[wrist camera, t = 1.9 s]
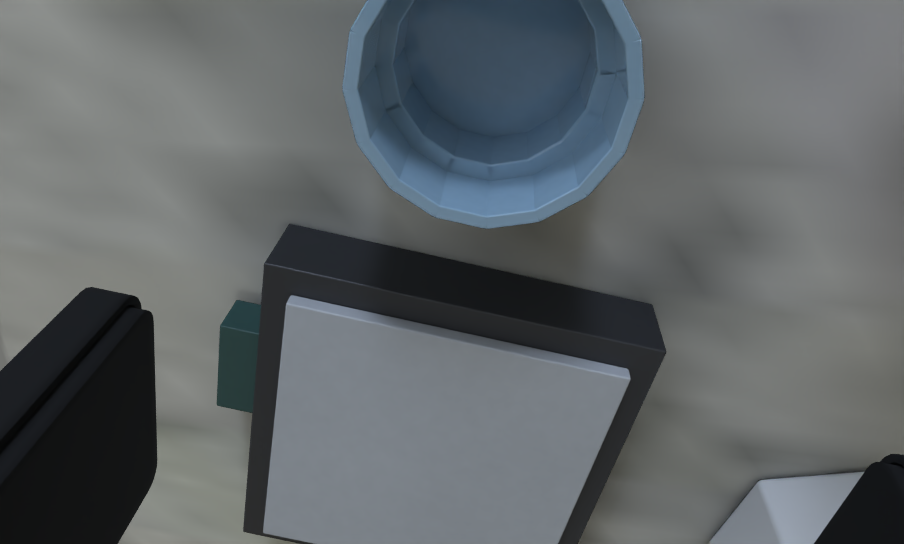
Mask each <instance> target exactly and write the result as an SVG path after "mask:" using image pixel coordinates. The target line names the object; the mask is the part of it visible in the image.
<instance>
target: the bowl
mask: <svg viewBox="0 0 904 544" xmlns="http://www.w3.org/2000/svg"><path fill="white" fill-rule="evenodd" d="M350 30H351V31H350V32H349V39H348V47H347V54H346V62H345V70H344V78H343V86H342V88H343V94H344V98H345V102H346V106H347V109H348V113H349V117H350V121H351V124H352V128H353V132H354V136H355V139H356V143H357V144H358V146H359V148H360V149H361V150H362V152H363V153H364V155H365V156H366V157H367V159H368V160H369V161H370V163H371V164H372V165H373V167H374V168H375V170H376V171H377V172H378V174H379V175H380V176H381V178H382V179H383V180H384V182H385V183H386V184H387V186H388V187H389V188H390V189H391V190H393V191H394V192H396V193H397V194H399V195H400V196H402V197H404V198H405V199H407V200H408V201H410V202H411V203H413V204H414V205H416V206H417V207H419V208H420V209H422V210H424V211H425V212H427V213H428V214H430V215H431V216H433V217H434V216H435V218H439V219H443V220H448V221H452V222H457V223H461V224H466V225H470V226H475V227H479V228H484V229H486V228H487V229H491V228H498V227H506V226H514V225H521V224H529V223H537V222H539V221H542V220H544V219H546V218H548V217H550V216H552V215H554V214H556V213H558V212H559V211H561V210H563V209H565V208H567V207H569V206H571V205H573V204H575V203H577V202H578V201H580V200H582V199H584V198H586V197H587V196H589V195H590V193H591V192H592V191H593V190H594V189H595V188H596V187H597V186H598V184H599V183H600V182H601V181H602V180H603V179H604V178H605V176H606V175H607V174H608V173H609V172H610V171H611V170H612V169H613V167H614V166H615V165H616V164H617V163H618V162H619V161H620V159H621V158H622V157H623V156H624V154H625V153H626V150H627V148H628V145H629V142H630V139H631V136H632V134H633V131H634V128H635V125H636V122H637V120H638V117H639V114H640V111H641V108H642V106H643V103H644V98H645V92H644V73H643V54H642V40H641V36H640V34H639V32H638V30H637V28H636V26H635V24H634V22H633V20H632V18H631V16H630V14H629V12H628V10H627V8H626V6H625V4H624V2H623V0H367V1H366V3H365V5H364V6H363V8H362V10H361V12H360V13H359V15H358V17H357V18H356V20H355V22H354V23H353V25H352V27H351V29H350Z"/></svg>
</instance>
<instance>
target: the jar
mask: <svg viewBox="0 0 904 544" xmlns="http://www.w3.org/2000/svg"><path fill="white" fill-rule="evenodd" d="M864 472H865V471H864ZM864 472H852V473H840V474H827V475H815V476H802V477H790V478H778V479H765V480H759V481H758V482H757V483H756V484H755V486H754V487H753V488H752V489H751V491H750V492H749V493H748V494H747V496H746V497H745V498H744V499H743V501H742V502H741V503H740V504H739V505H738V507H737V508H736V509H735V510H734V512H733V513H732V514H731V515H730V517H729V518H728V519H727V520H726V522H725V523H724V524H723V525H722V526H721V528H720V529H719V530H718V531H717V533H716V534H715V535H714V536H713V538H712V539H711V540H710V541H709V544H814V543H815V541H816V540H817V538H818V537H819V536H820V534H821V533H822V531H823V530H824V529H825V527H826V526H827V524H828V523H829V521H830V520H831V519H832V517H833V516H834V514H835V513H836V512H837V510H838V509H839V507H840V506H841V505H842V503H843V502H844V500H845V499H846V497H847V496H848V495H849V493H850V492H851V490H852V489H853V488H854V486H855V485H856V483H857V482H858V480H859V479H860V478H861V476H862V475H863V473H864Z"/></svg>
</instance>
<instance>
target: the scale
mask: <svg viewBox="0 0 904 544" xmlns="http://www.w3.org/2000/svg"><path fill="white" fill-rule="evenodd" d="M665 354H666V349H665V345H664V342H663V339H662V335H661V332H660V329H659V325H658V322H657V319H656V315H655V312H654V308H653V305H651V304H647V303H642V302H638V301H633V300H629V299H624V298H620V297H615V296H611V295H606V294H602V293H598V292H593V291H589V290H584V289H580V288H575V287H571V286H566V285H562V284H557V283H553V282H548V281H544V280H539V279H535V278H530V277H526V276H521V275H517V274H512V273H508V272H503V271H499V270H494V269H490V268H485V267H481V266H476V265H472V264H467V263H463V262H458V261H454V260H449V259H445V258H440V257H436V256H431V255H427V254H423V253H418V252H414V251H409V250H405V249H400V248H396V247H391V246H387V245H382V244H378V243H373V242H369V241H364V240H360V239H355V238H351V237H346V236H342V235H337V234H333V233H328V232H324V231H319V230H315V229H310V228H306V227H301V226H297V225H292V224H289V225H288V227H287V228H286V230H285V232H284V233H283V235H282V236H281V238H280V240H279V241H278V243H277V244H276V246H275V248H274V249H273V251H272V252H271V254H270V255H269V257H268V259H267V260H266V262H265V263H264V274H263V287H262V300H261V305H258V304H254V303H249V302H245V301H240V300H236V302H235V304H234V305H233V307H232V308H231V310H230V311H229V313H228V315H227V316H226V318H225V319H224V321H223V322H222V324H221V325H220V342H219V365H218V388H217V405H218V406H222V407H226V408H231V409H236V410H241V411H245V412H250V413H252V426H251V439H250V451H249V464H248V477H247V489H246V502H245V514H244V527H243V531H244V532H247V533H251V534H256V535H261V536H266V537H271V538H276V539H280V540H285V541H290V542H295V543H300V544H578V542H579V539H580V537H581V535H582V533H583V531H584V529H585V526H586V524H587V522H588V520H589V518H590V516H591V514H592V511H593V509H594V507H595V505H596V503H597V501H598V498H599V496H600V494H601V492H602V490H603V488H604V486H605V483H606V481H607V479H608V477H609V475H610V473H611V470H612V468H613V466H614V464H615V462H616V460H617V458H618V455H619V453H620V451H621V449H622V447H623V445H624V442H625V440H626V438H627V436H628V434H629V432H630V430H631V427H632V425H633V423H634V421H635V419H636V417H637V414H638V412H639V410H640V408H641V406H642V404H643V401H644V399H645V397H646V395H647V393H648V391H649V389H650V386H651V384H652V382H653V380H654V378H655V376H656V373H657V371H658V369H659V367H660V365H661V363H662V361H663V358H664V356H665Z"/></svg>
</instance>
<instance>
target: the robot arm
mask: <svg viewBox="0 0 904 544" xmlns="http://www.w3.org/2000/svg"><path fill="white" fill-rule="evenodd" d="M156 468H157V433H156V395H155V357H154V321H153V315H152V313H151V312H150V311H147V310H142V309H141V303H140V301H139V299H138V298H137V297H135V296H132V295H128V294H123V293H118V292H113V291H108V290H103V289H99V288H94V287H89V288H86V289H84V290H83V291H81V292H80V293H79V294H78V295H77V296H76V297H75V298H74V299H73V300H72V301H71V302H70V303H69V304H68V305H67V306H66V307H65V308H64V309H63V310H62V311H61V312H60V313H59V314H58V315H57V316H56V317H55V318H54V319H53V320H52V321H51V322H50V323H49V324H48V325H47V326H46V327H45V328H44V329H43V330H42V331H41V332H40V333H39V334H38V335H36V336H35V337H34V338H33V339H32V340H31V341H30V342H29V343H28V344H27V345H26V346H25V347H24V348H23V349H22V350H21V351H20V352H19V353H18V354H17V355H16V356H15V357H14V358H13V359H12V360H11V361H10V362H9V363H8V364H7V365H6V366H5V367H4V368H3V369H2V370H1V371H0V544H118V542H119V540H120V539H121V537H122V535H123V534H124V532H125V530H126V528H127V527H128V525H129V523H130V522H131V520H132V518H133V517H134V515H135V513H136V511H137V510H138V508H139V506H140V505H141V503H142V501H143V499H144V498H145V496H146V494H147V493H148V491H149V489H150V487H151V484H152V482H153V479H154V476H155V473H156ZM814 544H904V455H900V454H890V455H888V456H886V457H884V458H883V459H882V460H881V461H880V462H875V463H873V464H871V465H870V466H869V467H868V468H867V469H866V471H865V472H864V473H863V475H862V476H861V478H860V479H859V480H858V482H857V483H856V485H855V486H854V488H853V489H852V490H851V492H850V493H849V495H848V496H847V497H846V499H845V500H844V502H843V503H842V505H841V506H840V507H839V509H838V510H837V512H836V513H835V514H834V516H833V517H832V519H831V520H830V521H829V523H828V524H827V526H826V527H825V529H824V530H823V531H822V533H821V534H820V536H819V537H818V538H817V540H816V541H815V543H814Z"/></svg>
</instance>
